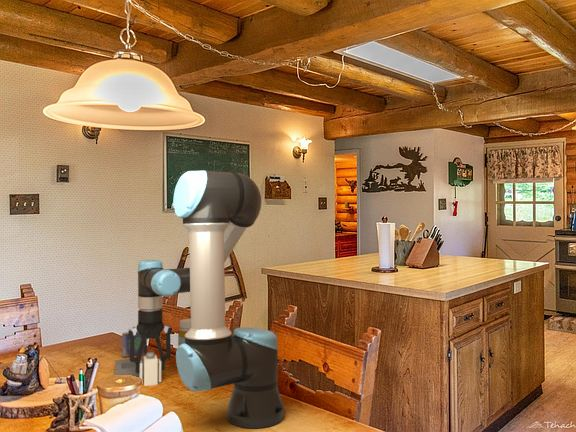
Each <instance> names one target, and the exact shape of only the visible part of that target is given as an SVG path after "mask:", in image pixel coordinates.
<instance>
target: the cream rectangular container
mask: <svg viewBox="0 0 576 432" xmlns="http://www.w3.org/2000/svg"><path fill="white" fill-rule="evenodd" d="M142 358H143V379H142V383H143V385H144V387H148V386H157V385H158V383H159V381H158V357H157V354H155V352H154V351H147V353H146V354H145V355H142Z"/></svg>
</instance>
